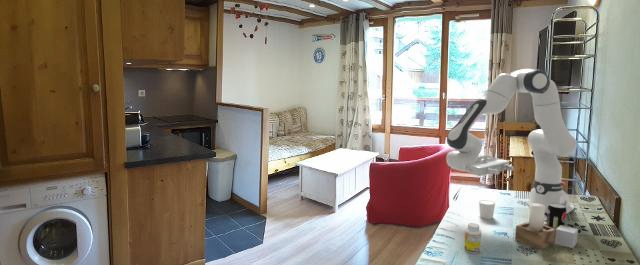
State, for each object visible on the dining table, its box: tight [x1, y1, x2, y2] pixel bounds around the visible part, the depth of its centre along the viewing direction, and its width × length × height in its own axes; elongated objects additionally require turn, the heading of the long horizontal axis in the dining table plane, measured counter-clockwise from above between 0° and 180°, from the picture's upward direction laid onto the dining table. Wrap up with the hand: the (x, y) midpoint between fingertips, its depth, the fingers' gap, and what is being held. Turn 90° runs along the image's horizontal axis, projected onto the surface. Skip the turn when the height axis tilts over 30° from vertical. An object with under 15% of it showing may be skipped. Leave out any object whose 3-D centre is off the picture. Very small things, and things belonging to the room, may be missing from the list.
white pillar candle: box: [528, 203, 545, 232], centre depth 152 cm, size 5×5×10 cm
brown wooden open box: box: [514, 221, 556, 250], centre depth 153 cm, size 10×10×6 cm
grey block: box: [554, 225, 579, 249], centre depth 151 cm, size 6×6×6 cm
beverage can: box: [545, 203, 567, 229], centre depth 161 cm, size 7×7×12 cm
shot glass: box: [478, 199, 496, 220], centre depth 181 cm, size 7×7×7 cm
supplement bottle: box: [464, 222, 482, 255], centre depth 144 cm, size 6×6×10 cm
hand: (505, 170), depth 164 cm, fingers open, 8 cm apart
